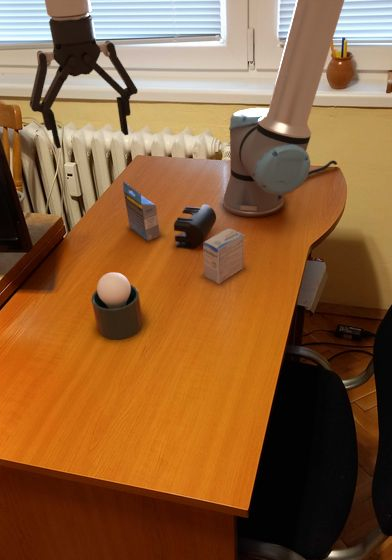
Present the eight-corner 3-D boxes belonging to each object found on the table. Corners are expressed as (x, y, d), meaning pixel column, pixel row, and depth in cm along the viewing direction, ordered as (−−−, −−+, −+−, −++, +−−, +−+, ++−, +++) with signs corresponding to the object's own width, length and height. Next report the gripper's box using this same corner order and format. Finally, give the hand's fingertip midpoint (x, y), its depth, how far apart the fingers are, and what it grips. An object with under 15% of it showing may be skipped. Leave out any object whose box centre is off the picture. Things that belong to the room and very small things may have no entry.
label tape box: (160, 236, 132) (155, 188, 124) (146, 242, 131) (140, 193, 122) (142, 223, 138) (136, 175, 130) (128, 228, 136) (121, 180, 128)
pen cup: (135, 307, 111) (130, 278, 107) (148, 332, 105) (144, 302, 101) (93, 318, 109) (86, 289, 105) (104, 345, 103) (98, 315, 98)
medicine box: (229, 262, 122) (228, 226, 116) (244, 269, 120) (244, 233, 114) (204, 277, 118) (202, 241, 112) (219, 285, 116) (218, 249, 110)
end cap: (204, 252, 126) (202, 225, 121) (175, 248, 128) (172, 222, 123) (216, 231, 133) (216, 205, 128) (189, 227, 135) (187, 201, 130)
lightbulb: (105, 335, 104) (95, 287, 97) (103, 316, 109) (93, 268, 101) (137, 329, 105) (130, 281, 98) (133, 310, 109) (126, 263, 102)
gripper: (132, 3, 101) (145, 122, 115) (-7, 21, 95) (25, 145, 109) (145, 10, 96) (157, 133, 110) (-1, 29, 89) (31, 158, 103)
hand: (91, 139), depth 109 cm, fingers open, 13 cm apart
